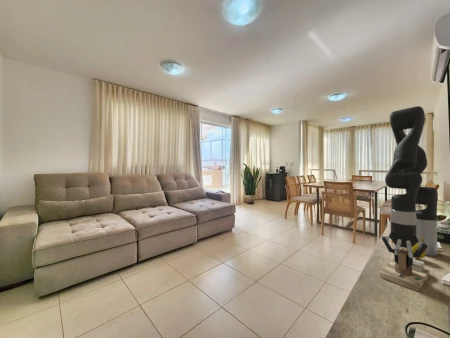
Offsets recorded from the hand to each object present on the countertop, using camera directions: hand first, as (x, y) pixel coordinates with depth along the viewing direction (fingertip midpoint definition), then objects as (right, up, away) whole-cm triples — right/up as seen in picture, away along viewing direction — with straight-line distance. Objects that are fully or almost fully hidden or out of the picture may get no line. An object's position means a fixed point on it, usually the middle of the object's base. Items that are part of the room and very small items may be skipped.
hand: (403, 264), depth 75 cm
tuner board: (+2, -5, +1) cm, 6 cm away
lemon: (+20, -5, +14) cm, 25 cm away
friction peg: (0, -3, 0) cm, 3 cm away
